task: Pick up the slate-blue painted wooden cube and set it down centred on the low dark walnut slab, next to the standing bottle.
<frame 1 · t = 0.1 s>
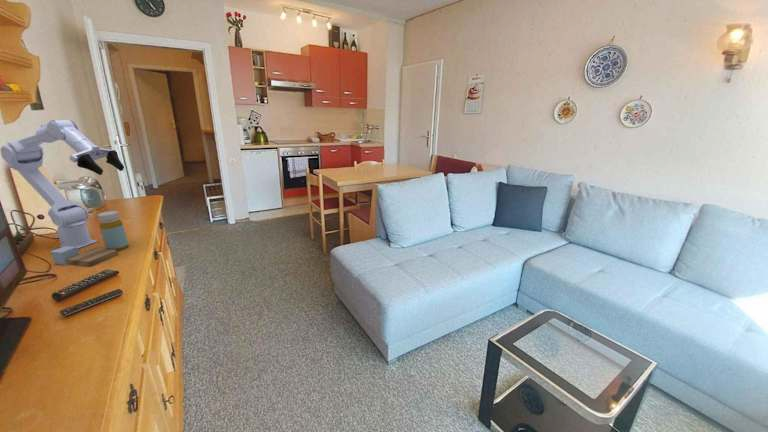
hand: (112, 170, 115), 32 cm above the sideboard, tool tilted 50°, fingers open, 7 cm apart
base slab: (94, 259, 118), on the sideboard
cube: (68, 261, 117), on the sideboard
bottle: (118, 248, 127), on the sideboard
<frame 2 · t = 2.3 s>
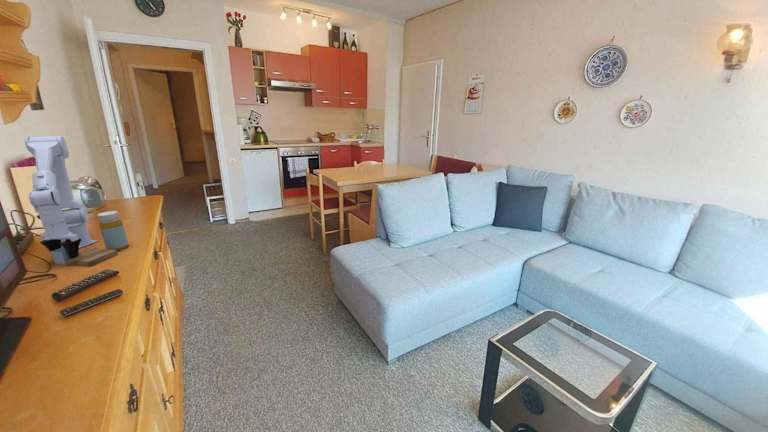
hand: (66, 257, 116), 2 cm above the sideboard, tool pointing down, fingers open, 7 cm apart
nothing on the sideboard moved.
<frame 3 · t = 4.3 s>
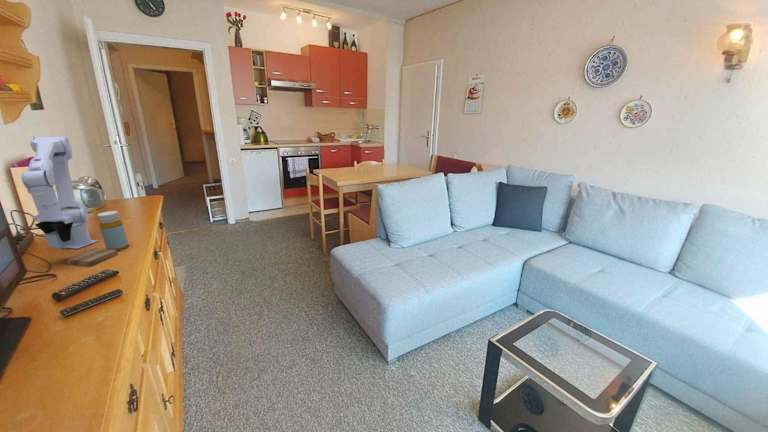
hand: (60, 240, 114), 8 cm above the sideboard, tool pointing down, fingers closed on cube, 5 cm apart
cube: (62, 245, 114), point 7 cm above the sideboard, touching gripper
everything else where it was.
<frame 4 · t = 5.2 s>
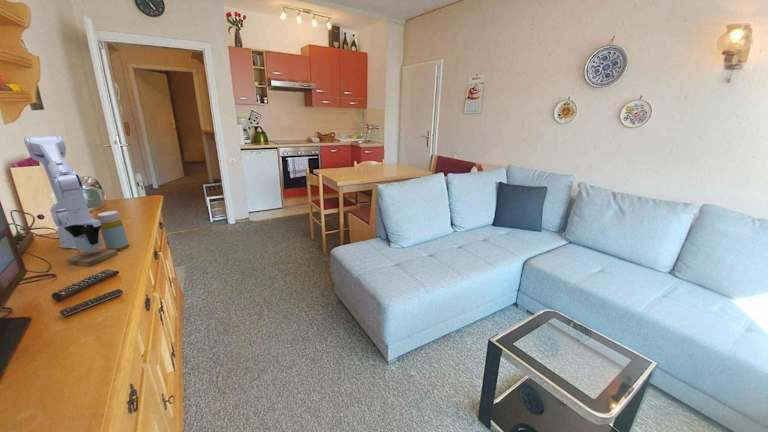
hand: (88, 243, 116), 7 cm above the sideboard, tool pointing down, fingers closed on cube, 5 cm apart
cube: (90, 248, 116), point 5 cm above the sideboard, touching gripper
everything else where it was.
when the fingers open (5 cm above the sideboard, at t = 6.4 s): cube drops 1 cm, resting on base slab.
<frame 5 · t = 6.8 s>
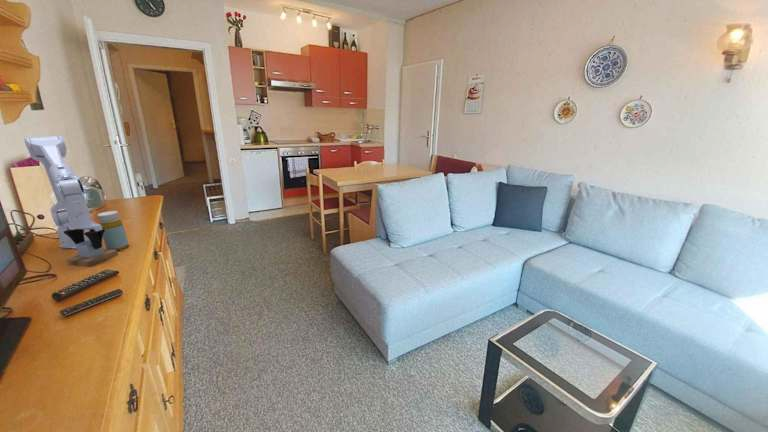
hand: (90, 247, 116), 5 cm above the sideboard, tool pointing down, fingers open, 7 cm apart
cube: (92, 254, 117), point 2 cm above the sideboard, touching base slab
everything else where it was.
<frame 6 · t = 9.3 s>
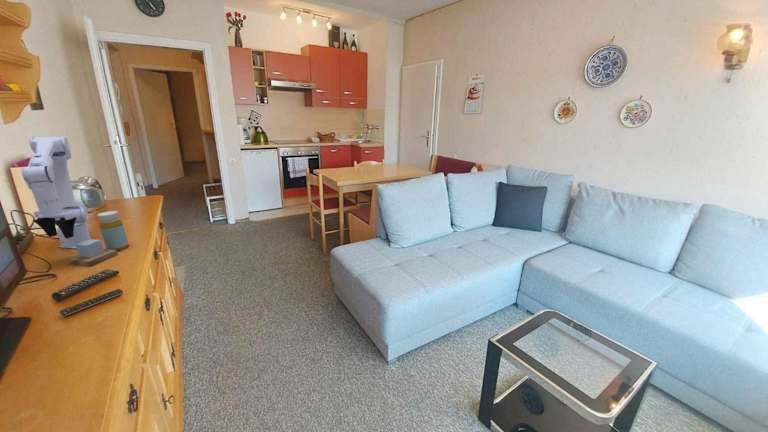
hand: (61, 236, 113), 10 cm above the sideboard, tool pointing down, fingers open, 7 cm apart
nothing on the sideboard moved.
at the end: cube inside the target area on the base slab (0.0 cm from its centre), point 2.0 cm above the base slab's base; cube tilted 0°; the gripper is holding nothing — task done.
